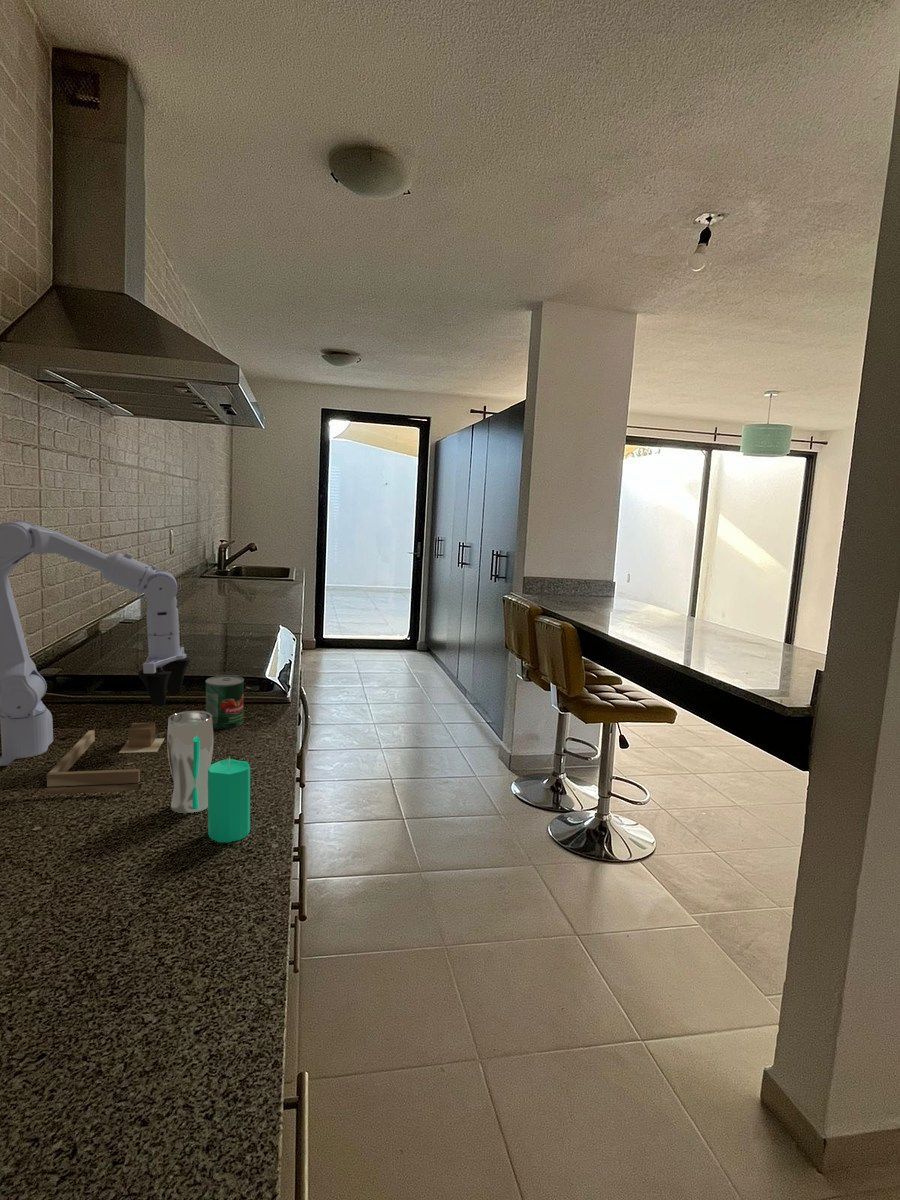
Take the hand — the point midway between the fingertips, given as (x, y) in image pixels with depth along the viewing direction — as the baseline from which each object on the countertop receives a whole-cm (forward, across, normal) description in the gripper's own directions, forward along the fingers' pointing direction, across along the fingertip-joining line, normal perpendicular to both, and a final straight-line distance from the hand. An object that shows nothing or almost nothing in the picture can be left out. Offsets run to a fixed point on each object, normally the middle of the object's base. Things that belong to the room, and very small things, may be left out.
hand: (167, 699), depth 131 cm
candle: (+10, -34, -23) cm, 43 cm away
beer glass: (+10, -26, -14) cm, 31 cm away
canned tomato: (+10, +12, -7) cm, 17 cm away
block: (+8, -3, +4) cm, 9 cm away
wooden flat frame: (+9, -11, +5) cm, 15 cm away
